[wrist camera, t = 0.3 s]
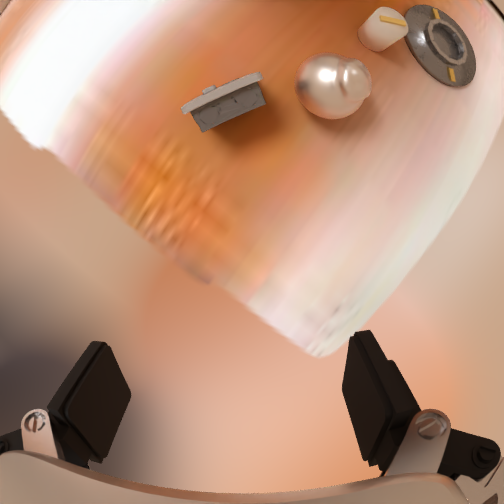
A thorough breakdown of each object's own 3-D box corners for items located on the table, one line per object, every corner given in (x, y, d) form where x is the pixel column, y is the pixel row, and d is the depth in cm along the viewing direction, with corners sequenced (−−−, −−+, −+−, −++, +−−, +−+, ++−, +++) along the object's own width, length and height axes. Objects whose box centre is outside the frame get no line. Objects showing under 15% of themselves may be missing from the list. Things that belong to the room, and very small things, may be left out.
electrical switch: (251, 74, 32) (254, 58, 24) (267, 106, 34) (275, 99, 26) (188, 103, 34) (172, 95, 25) (204, 134, 36) (192, 136, 27)
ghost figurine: (349, 132, 35) (379, 126, 25) (283, 112, 34) (294, 97, 25) (361, 76, 32) (391, 57, 22) (298, 55, 31) (311, 27, 22)
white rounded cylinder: (354, 22, 28) (372, 2, 21) (384, 27, 28) (405, 9, 21) (360, 49, 30) (380, 32, 23) (390, 53, 30) (413, 39, 23)
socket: (392, -3, 26) (398, -9, 23) (461, 21, 25) (468, 17, 23) (412, 77, 31) (420, 74, 29) (479, 94, 30) (487, 93, 28)
